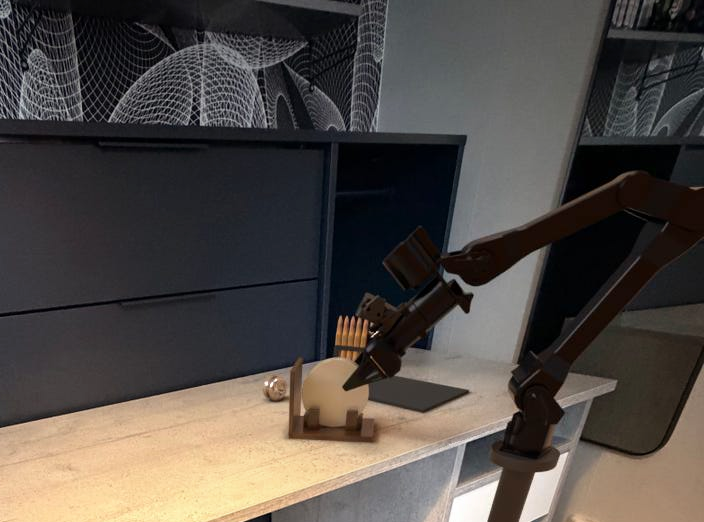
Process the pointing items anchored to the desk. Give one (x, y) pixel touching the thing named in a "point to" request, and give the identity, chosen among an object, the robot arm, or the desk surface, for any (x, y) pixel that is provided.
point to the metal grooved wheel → (274, 388)
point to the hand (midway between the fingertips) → (345, 381)
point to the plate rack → (309, 423)
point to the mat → (412, 393)
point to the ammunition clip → (350, 339)
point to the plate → (333, 391)
